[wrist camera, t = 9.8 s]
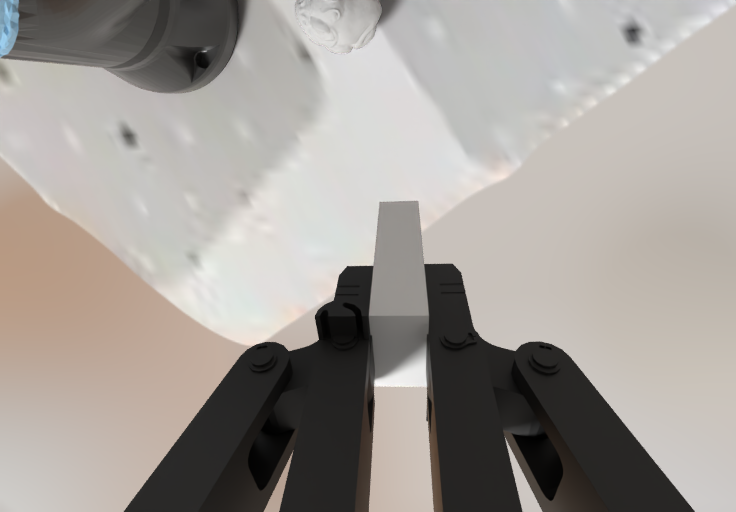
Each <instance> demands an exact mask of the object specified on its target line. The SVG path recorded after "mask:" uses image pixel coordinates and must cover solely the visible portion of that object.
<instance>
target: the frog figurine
mask: <svg viewBox="0 0 736 512" xmlns="http://www.w3.org/2000/svg"><path fill="white" fill-rule="evenodd" d="M295 11H296V17H297V20H298V23H299V24H300V26H301V28H302V29H303V31H304V32H305V33H306V35H307V36H308V37H309V39H310V40H311V41H312V42H314V43H316V44H318V45H320V46H325V47H326V48H327V49H328V50H329V51H331V52H333V53H337V54H344V53H349V52H351V50H352V48H353V47H354V48H355V49H359V48H362V47H363V46H365V45H366V44H367V43H368V42H369V41H370V40H371V39H372V38H373V37H374V35H375V31H376V24H377V22H378V20H379V18H380V16H381V12H382V7H381V4H380V2H379V0H297V1H296V4H295Z"/></svg>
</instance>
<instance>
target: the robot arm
mask: <svg viewBox="0 0 736 512" xmlns="http://www.w3.org/2000/svg"><path fill="white" fill-rule="evenodd" d="M237 30H238V7H237V0H0V58H3V59H14V60H25V61H35V62H46V63H57V64H68V65H79V66H89V67H101V68H104V69H105V70H107V71H109V72H111V73H112V74H114V75H116V76H117V77H119V78H121V79H123V80H124V81H126V82H128V83H130V84H132V85H134V86H136V87H139V88H142V89H145V90H148V91H152V92H158V93H186V92H191V91H194V90H197V89H199V88H201V87H203V86H205V85H207V84H208V83H210V82H211V81H212V80H214V79H215V78H216V77H217V76H218V75H219V74H220V72H221V71H222V70H223V69H224V67H225V66H226V64H227V62H228V60H229V58H230V56H231V54H232V51H233V49H234V45H235V42H236V37H237ZM315 320H316V326H317V331H318V336H319V340H318V341H317V342H315V343H314V344H312V345H310V346H307V347H304V348H300V349H297V350H292V351H288V350H287V349H286V348H285V347H284V345H281V344H279V343H276V342H264V343H260V344H256V345H255V346H253V347H251V348H249V349H247V350H246V351H245V353H243V354H242V355H241V356H240V357H239V359H238V360H237V362H236V363H235V364H234V365H233V367H232V368H231V369H230V371H229V372H228V374H227V375H226V376H225V377H224V379H223V380H222V381H221V383H220V384H219V386H218V387H217V388H216V389H215V391H214V392H213V393H212V395H211V396H210V397H209V399H208V400H207V401H206V403H205V404H204V405H203V407H202V408H201V409H200V411H199V412H198V413H197V415H196V416H195V417H194V419H193V420H192V421H191V423H190V424H189V425H188V427H187V428H186V429H185V431H184V432H183V433H182V435H181V436H180V437H179V439H178V440H177V442H176V443H175V444H174V445H173V447H172V448H171V449H170V451H169V452H168V454H167V455H166V456H165V457H164V459H163V460H162V461H161V463H160V464H159V465H158V467H157V468H156V469H155V471H154V472H153V473H152V475H151V476H150V477H149V479H148V480H147V481H146V483H145V484H144V485H143V487H142V488H141V489H140V491H139V492H138V493H137V495H136V496H135V497H134V499H133V500H132V501H131V503H130V504H129V505H128V507H127V508H126V509H125V511H124V512H264V510H265V508H266V506H267V503H268V501H269V499H270V497H271V495H272V493H273V491H274V489H275V487H276V485H277V483H278V481H279V478H280V477H281V474H282V472H283V470H284V468H285V466H286V464H287V462H288V460H289V458H290V456H291V454H292V452H293V455H292V460H291V464H290V468H289V472H288V476H287V481H286V485H285V490H284V494H283V498H282V502H281V507H280V511H279V512H369V495H370V478H371V461H372V460H371V459H372V443H373V425H374V407H375V400H374V383H375V386H394V387H399V386H400V387H427V419H426V420H427V421H428V428H429V443H430V457H431V458H430V459H431V474H432V489H433V504H434V512H522V508H521V504H520V500H519V495H518V491H517V487H516V483H515V478H514V474H513V470H512V466H511V462H510V457H509V453H508V449H507V445H506V441H505V438H506V439H507V441H508V443H509V446H510V448H511V450H512V452H513V453H514V455H515V458H516V459H517V461H518V464H519V466H520V467H521V469H522V471H523V473H524V475H525V477H526V479H527V481H528V483H529V485H530V487H531V489H532V491H533V493H534V495H535V497H536V499H537V501H538V503H539V505H540V507H541V509H542V511H543V512H695V511H694V510H693V509H692V507H691V506H690V505H689V504H688V503H687V501H686V500H685V499H684V498H683V496H682V495H681V494H680V493H679V491H678V490H677V489H676V488H675V486H674V485H673V484H672V483H671V482H670V480H669V479H668V478H667V477H666V475H665V474H664V473H663V471H662V470H661V469H660V468H659V467H658V465H657V464H656V463H655V462H654V460H653V459H652V458H651V457H650V456H649V454H648V453H647V452H646V450H645V449H644V448H643V447H642V446H641V444H640V443H639V442H638V440H636V438H635V437H634V436H633V434H632V433H631V432H630V431H629V429H628V428H627V427H626V426H625V424H624V423H623V422H622V421H621V419H620V418H619V417H618V416H617V414H616V413H615V412H614V411H613V409H612V408H611V407H610V406H609V404H608V403H607V402H606V401H605V400H604V398H603V397H602V396H601V395H600V394H599V392H598V391H597V390H596V388H595V387H594V386H593V385H592V383H591V382H590V381H589V380H588V378H587V377H586V376H585V375H584V373H583V372H582V371H581V370H580V368H579V367H578V366H577V365H576V364H575V363H574V361H573V360H572V359H571V357H569V355H567V354H566V353H565V352H564V351H563V350H562V349H560V348H558V347H556V346H554V345H552V344H548V343H544V342H528V343H525V344H523V345H521V346H520V347H519V348H518V349H517V350H516V351H512V350H508V349H504V348H500V347H497V346H494V345H492V344H489V343H488V342H486V341H484V340H483V339H482V338H481V337H480V336H479V334H478V333H477V332H476V331H475V329H474V327H473V323H472V319H471V315H470V310H469V306H468V302H467V297H466V294H465V289H464V285H463V279H462V275H461V272H460V271H459V270H458V269H457V268H456V267H455V266H454V265H453V264H424V258H423V247H422V236H421V226H420V215H419V204H418V201H399V202H380V205H379V215H378V225H377V236H376V246H375V256H374V266H347V267H346V268H345V269H344V271H343V272H342V273H341V274H340V275H339V279H338V284H337V288H336V293H335V298H334V301H332V302H330V303H327V304H325V305H324V306H322V307H321V308H320V309H319V310H318V311H317V313H316V315H315ZM293 450H294V451H293Z"/></svg>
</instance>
